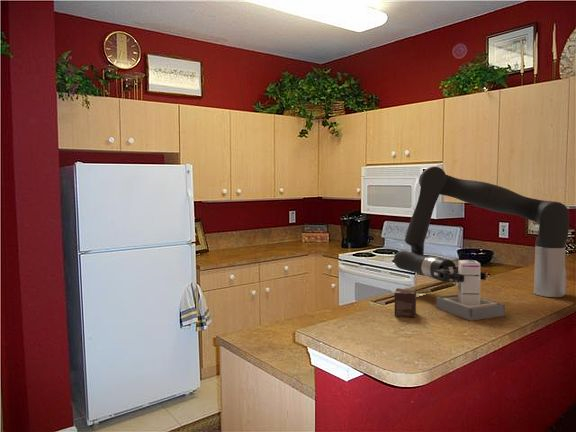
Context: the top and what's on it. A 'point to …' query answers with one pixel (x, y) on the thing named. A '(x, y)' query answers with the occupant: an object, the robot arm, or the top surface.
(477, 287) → the syrup box
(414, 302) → the box
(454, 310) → the tray
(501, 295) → the top surface
